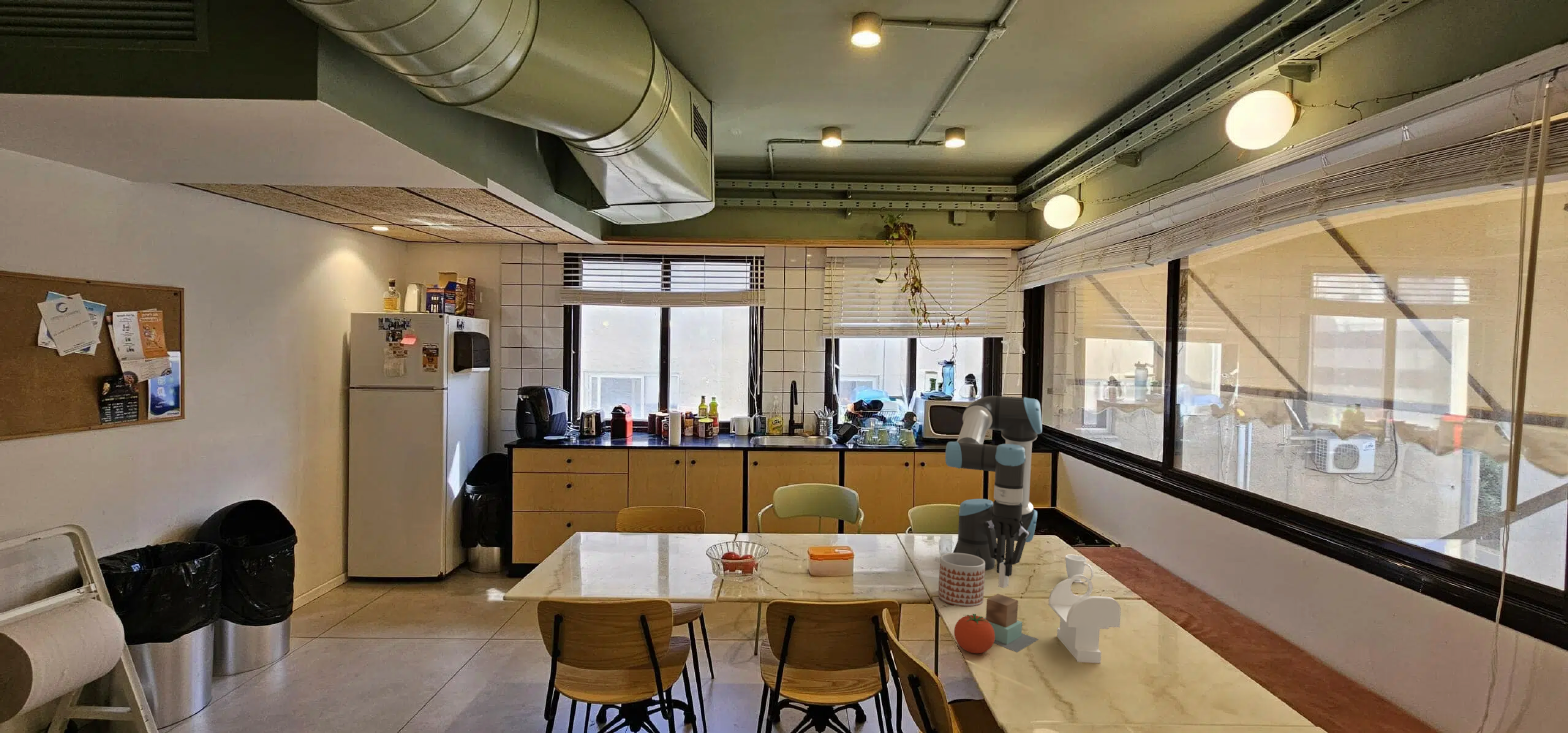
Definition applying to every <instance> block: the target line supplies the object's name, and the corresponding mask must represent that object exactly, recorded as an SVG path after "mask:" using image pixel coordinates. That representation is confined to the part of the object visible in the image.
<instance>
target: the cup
mask: <svg viewBox="0 0 1568 733" xmlns="http://www.w3.org/2000/svg"><path fill="white" fill-rule="evenodd" d="M1064 559H1065V568H1066V574H1067V577H1068V578H1067V579H1070V578H1071V577H1072V576H1074V575H1078V574H1080V575H1084V572H1085V569H1086V566H1087V567H1088V568H1089V569H1090V573H1091V574H1090V575H1091V576H1090V577H1089V579H1090V581H1091V580H1092V579H1093V578H1094V569H1093V567H1092V565H1091V564H1089V563H1087V558H1086V557H1084V556H1083V555H1079V554H1078V555H1077V554H1066V555H1065V556H1064ZM1073 583H1077V584H1078V583H1079V584H1085V583H1087V581H1086V580H1084V581H1082V579H1076V580H1075V581H1073Z"/></svg>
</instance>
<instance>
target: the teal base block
mask: <svg viewBox="0 0 1568 733" xmlns="http://www.w3.org/2000/svg"><path fill="white" fill-rule="evenodd" d="M983 618H984V619H986V617H983ZM988 622H989V621H988ZM989 623H990V624H991V625H992V627H993V629H994V632H995V640H996V641H999V642H1002V643H1004V644H1009V643H1010V642H1012V641H1014V640H1016V639H1018V638H1019V637H1021V635H1022V632H1023V621H1021V620H1018V619H1017V622H1016V623H1014V624H1012V625H1010V626H1008V627H1006V628H1005V627H1003V626H1000V625H997V624H994V623H992V622H989Z"/></svg>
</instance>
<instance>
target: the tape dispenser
mask: <svg viewBox="0 0 1568 733" xmlns="http://www.w3.org/2000/svg"><path fill="white" fill-rule="evenodd" d="M1076 579H1080V580H1084V581H1087V582H1086V583H1087V586H1088V588H1087V590H1086V592H1085V593H1084V594H1080V595H1077V594H1074V592H1073V591H1072V585H1073V583H1074V582H1073V581H1075V580H1076ZM1093 588H1094V585H1093V583H1092V581H1091V580H1090V577H1087V576H1086V575H1084V574H1083V575H1080V574H1078V575H1074V576H1072V577H1071V578H1070V579H1068V578H1065V579H1063V580H1061V581H1060V582H1057V584H1056V585H1055V586H1054V587H1053V588H1052V590H1051V591H1050V593H1049V598H1048V604H1047V605H1048V606H1049V607H1050V608H1051V610H1053V612H1054V613H1055V614H1056V615H1057V616H1058V618H1059V627H1057V629H1056V637H1057V638H1058V639H1059V641H1060V642H1061V643H1062V644H1063V645H1064V646H1065V648H1066V649H1067V651H1069V653H1070V654H1071V655H1072V656H1073V657H1074V658H1075V661H1076V663H1091V664H1092V663H1093V664H1101V663H1102V662H1101V660H1102V651H1101V650H1100V649H1099V646H1100V645H1099V644H1100V631H1101V630H1100V629H1102V630H1104V629H1105V630H1108V629H1109V628H1120V627H1121V613H1122V611H1121V609H1122V608H1121V605H1120V604H1119V602H1118V601H1117V600H1116V599H1114V598H1113V597H1111V596H1105V595H1091V594H1092V593H1093Z"/></svg>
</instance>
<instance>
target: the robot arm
mask: <svg viewBox="0 0 1568 733" xmlns="http://www.w3.org/2000/svg"><path fill="white" fill-rule="evenodd" d="M1042 421H1043V419H1042V410H1041V403H1040V401H1039V400H1038V399H1037V398H1036V399H1035V398H1030V397H1026V396H1024V397H1016V396H1000V395H988V396H984V397H981V398H978V399H976V400H975V401H972V402H971V403H970V404H969V405H968V406H967V407H966V408H965V409H964V412H963V414H962V423H963V424H962V426H961V430H960V432H959V433H958V434H959V435H958V438H957V440H956V441H948V442H947V443H946V448H945V465H947V467H948V468H949V467H950V468H956V469H966V470H975V471H976V470H977V471H984V472H994V485H993V487H994V488H993V489H994V490H993V499H994V501H992V500H991V499H987V498H972V499H966V500H964V501H962V502H961V503H960V505H959V510H958V511H959V512H958V527H957V528H958V529H957V542H956V544H955V547H954V549H953V552H952V553H965V554H970V555H974V556H977V557H980V558H982V559H983V560H984V561H985V571H988V570H991V569H993V568H995V565H996V573H997V574H998V587H999V588H1002V589H1005V588H1007V587H1009V582H1010V581H1009V580H1010V579H1009V578H1010V577H1011V576H1012V574H1013V566H1014V565H1016V564H1019V563H1020V561H1021V558H1022V556H1023V552H1024V548H1025V545H1026V543H1030V542H1031V541H1033V539H1034V536H1035V530H1036V526H1037V519H1038V510H1036V509H1034V505H1033V503H1032V502H1031V501H1030V492H1031V490H1030V489H1031V487H1030V486H1031V474H1032V473H1031V472H1032V471H1031V470H1032V469H1031V468H1032V451H1033V450H1032V448H1033V442H1034V441H1036V440H1037V438H1038V435H1040V434H1042V432H1043V422H1042ZM988 430H992V431H993V430H994V431H1000V432H1001V437H1002V439H1004V440H1005V443H1002V444H998V445H993V444H992V445H991V444H984V441H985V438H986V435H987V431H988ZM1015 542H1016V545H1015ZM995 563H996V564H995Z"/></svg>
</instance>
